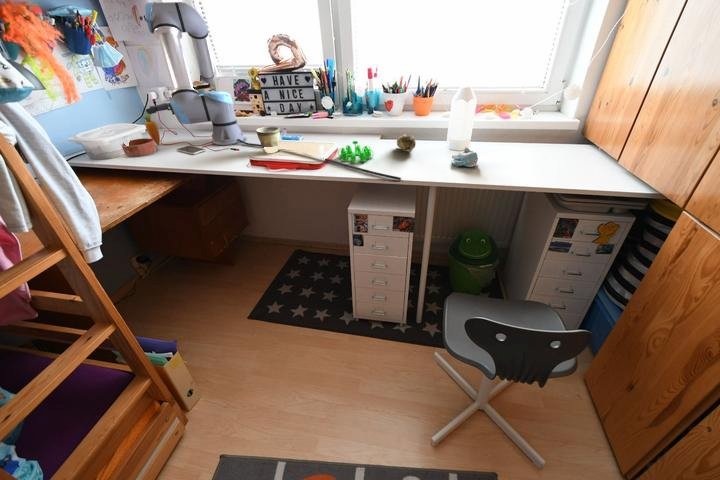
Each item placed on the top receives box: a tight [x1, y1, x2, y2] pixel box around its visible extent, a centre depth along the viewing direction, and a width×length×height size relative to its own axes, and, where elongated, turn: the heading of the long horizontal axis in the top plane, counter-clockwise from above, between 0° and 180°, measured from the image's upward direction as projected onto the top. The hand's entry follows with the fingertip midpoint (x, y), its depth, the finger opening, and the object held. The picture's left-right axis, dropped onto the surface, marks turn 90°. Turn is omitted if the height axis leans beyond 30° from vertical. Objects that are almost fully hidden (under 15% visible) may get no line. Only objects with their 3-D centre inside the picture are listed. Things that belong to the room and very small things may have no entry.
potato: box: [396, 134, 417, 152], centre depth 139 cm, size 8×13×8 cm, turn 172°
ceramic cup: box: [255, 126, 281, 149], centre depth 146 cm, size 13×10×10 cm
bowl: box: [120, 137, 158, 158], centre depth 151 cm, size 13×13×5 cm
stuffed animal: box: [450, 146, 479, 168], centre depth 124 cm, size 11×7×12 cm
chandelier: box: [337, 140, 374, 164], centre depth 134 cm, size 15×15×7 cm
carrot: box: [141, 112, 161, 146], centre depth 159 cm, size 5×5×15 cm
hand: (159, 112), depth 164 cm, fingers open, 13 cm apart
